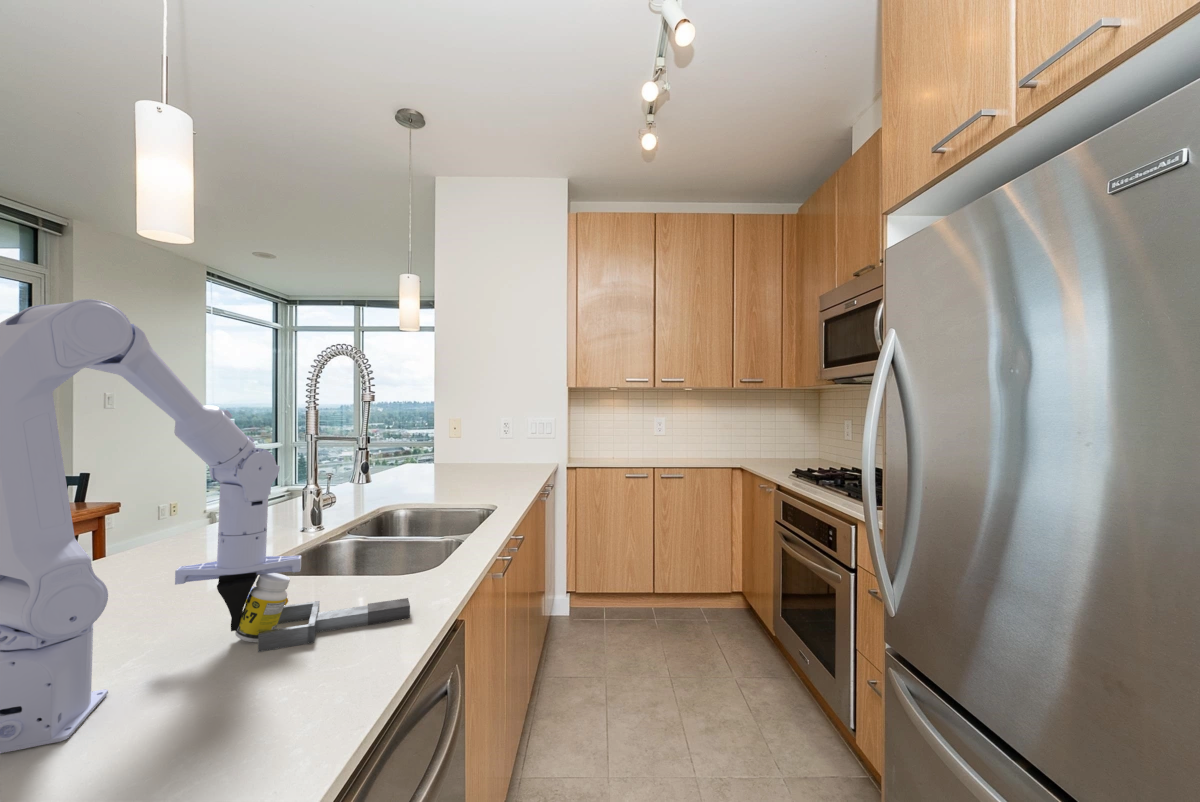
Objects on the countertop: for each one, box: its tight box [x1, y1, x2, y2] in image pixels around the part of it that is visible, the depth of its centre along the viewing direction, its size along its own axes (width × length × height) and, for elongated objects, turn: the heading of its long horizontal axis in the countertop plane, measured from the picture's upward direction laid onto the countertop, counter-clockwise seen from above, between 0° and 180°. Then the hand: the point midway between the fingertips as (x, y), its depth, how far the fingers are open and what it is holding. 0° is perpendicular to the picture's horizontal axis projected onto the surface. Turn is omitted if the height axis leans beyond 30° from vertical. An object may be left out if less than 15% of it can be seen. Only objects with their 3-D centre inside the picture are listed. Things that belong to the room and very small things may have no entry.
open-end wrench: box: [257, 597, 411, 653], centre depth 77 cm, size 10×20×2 cm, turn 115°
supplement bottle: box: [234, 573, 291, 643], centre depth 73 cm, size 5×5×8 cm
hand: (239, 627), depth 72 cm, fingers closed, pressing on supplement bottle
